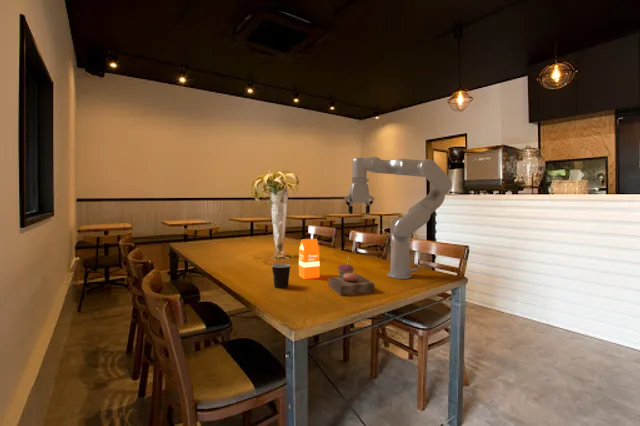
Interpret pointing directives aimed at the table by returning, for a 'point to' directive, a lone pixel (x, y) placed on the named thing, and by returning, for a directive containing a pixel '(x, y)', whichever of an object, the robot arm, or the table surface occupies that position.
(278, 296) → the table surface
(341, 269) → the cupcake
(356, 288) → the brown wooden tray
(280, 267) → the coffee mug
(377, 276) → the table surface
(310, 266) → the orange juice
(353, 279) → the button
